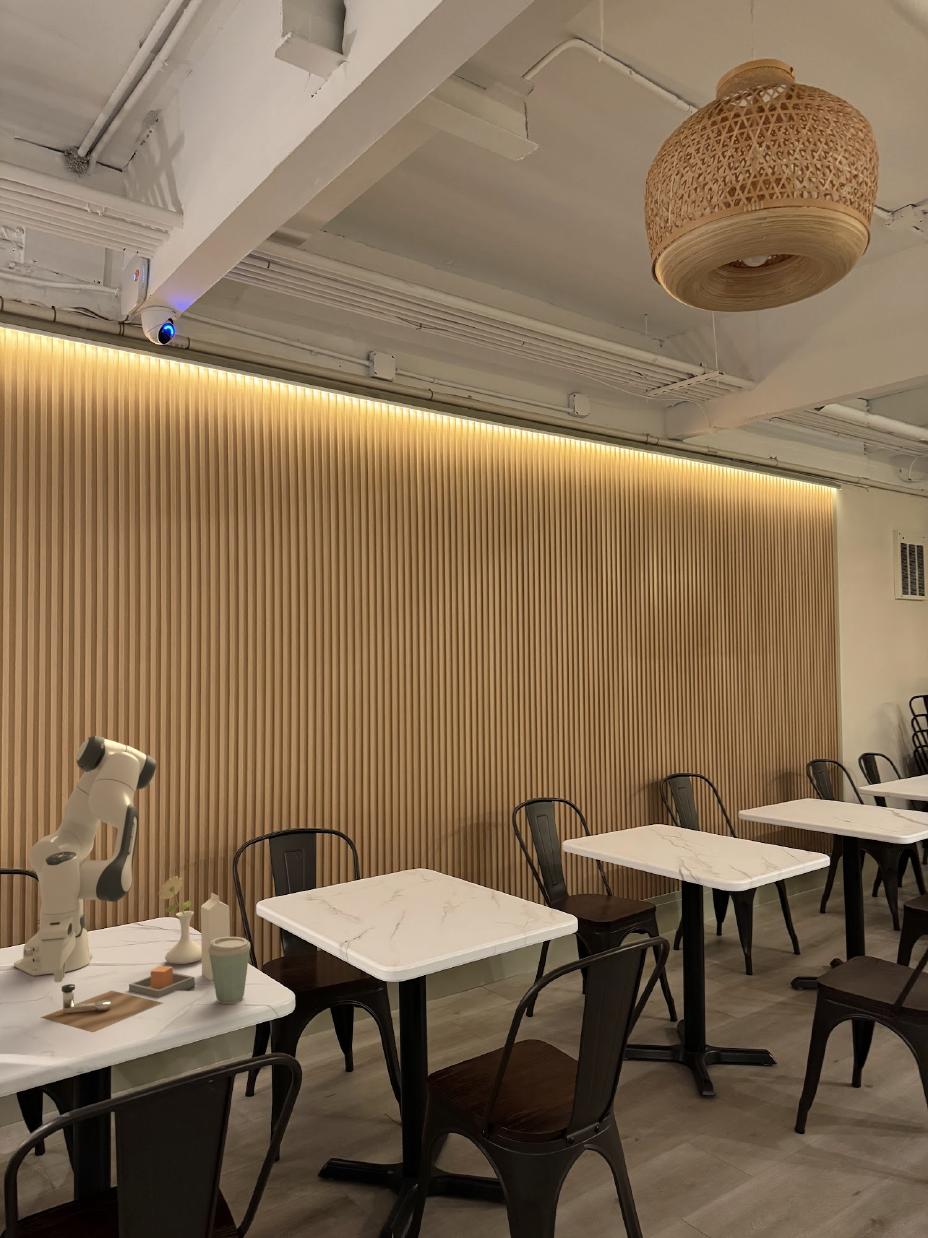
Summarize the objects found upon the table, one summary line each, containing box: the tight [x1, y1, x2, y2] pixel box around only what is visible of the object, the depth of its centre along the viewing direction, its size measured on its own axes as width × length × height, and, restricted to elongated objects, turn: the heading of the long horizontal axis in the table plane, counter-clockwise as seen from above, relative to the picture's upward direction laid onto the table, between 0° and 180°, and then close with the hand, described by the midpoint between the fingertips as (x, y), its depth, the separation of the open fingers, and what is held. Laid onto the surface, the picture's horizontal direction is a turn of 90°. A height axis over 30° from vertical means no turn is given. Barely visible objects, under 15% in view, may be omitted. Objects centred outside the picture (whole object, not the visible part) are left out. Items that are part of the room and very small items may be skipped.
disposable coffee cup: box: [208, 936, 251, 1005], centre depth 224 cm, size 11×11×15 cm
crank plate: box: [40, 990, 163, 1033], centre depth 215 cm, size 20×20×2 cm
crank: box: [61, 983, 111, 1013], centre depth 215 cm, size 11×4×6 cm, turn 99°
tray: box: [128, 972, 196, 998], centre depth 231 cm, size 12×12×3 cm
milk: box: [200, 892, 231, 981], centre depth 244 cm, size 6×6×22 cm
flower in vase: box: [158, 875, 202, 965], centre depth 256 cm, size 13×11×25 cm
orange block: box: [150, 965, 174, 990], centre depth 231 cm, size 4×4×5 cm
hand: (59, 980), depth 211 cm, fingers closed
